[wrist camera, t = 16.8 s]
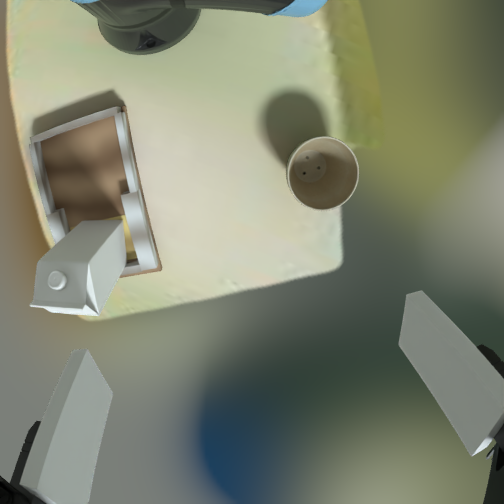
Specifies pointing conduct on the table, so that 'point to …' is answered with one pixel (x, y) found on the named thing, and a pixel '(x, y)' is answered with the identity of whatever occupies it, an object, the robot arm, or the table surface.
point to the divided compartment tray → (95, 182)
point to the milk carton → (81, 269)
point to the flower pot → (322, 173)
